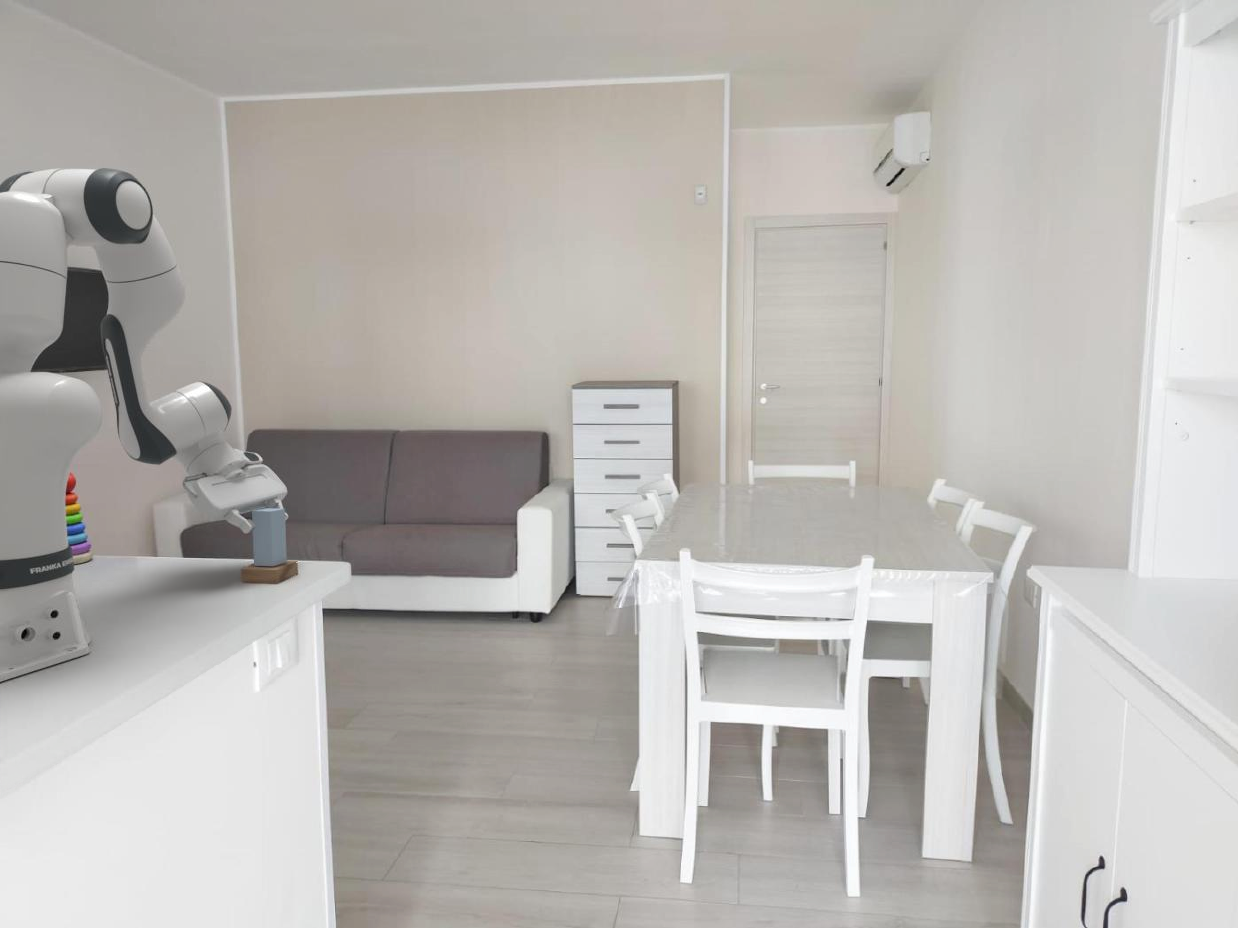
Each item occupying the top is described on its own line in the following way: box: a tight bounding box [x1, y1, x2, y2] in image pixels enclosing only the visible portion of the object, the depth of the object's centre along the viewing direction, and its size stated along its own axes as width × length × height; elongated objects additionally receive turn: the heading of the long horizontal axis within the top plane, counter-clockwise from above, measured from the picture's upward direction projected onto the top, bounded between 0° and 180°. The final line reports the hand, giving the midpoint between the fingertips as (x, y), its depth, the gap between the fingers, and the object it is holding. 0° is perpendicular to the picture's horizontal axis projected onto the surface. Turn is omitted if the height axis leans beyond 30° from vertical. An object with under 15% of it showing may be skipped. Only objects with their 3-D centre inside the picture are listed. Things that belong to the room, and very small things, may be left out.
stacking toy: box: [65, 471, 94, 565], centre depth 176 cm, size 8×8×19 cm
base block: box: [240, 560, 299, 585], centre depth 163 cm, size 7×7×3 cm
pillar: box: [251, 507, 288, 566], centre depth 162 cm, size 4×4×10 cm
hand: (268, 525), depth 162 cm, fingers open, 8 cm apart
